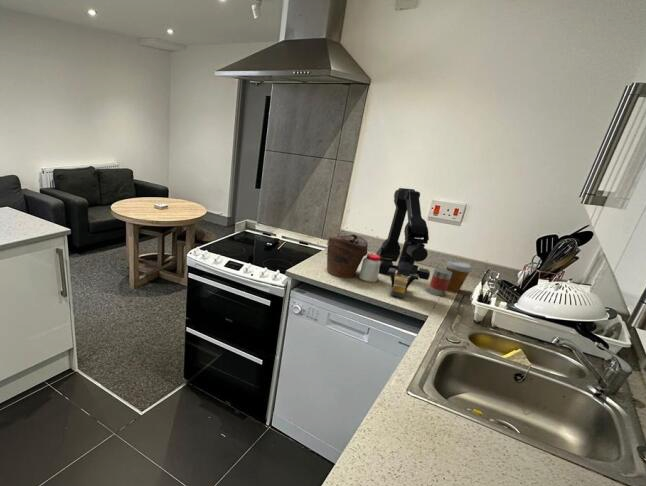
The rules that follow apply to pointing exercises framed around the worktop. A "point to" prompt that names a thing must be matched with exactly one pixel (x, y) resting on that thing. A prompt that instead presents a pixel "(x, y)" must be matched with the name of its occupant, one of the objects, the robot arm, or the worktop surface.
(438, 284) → the tin can
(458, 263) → the disposable coffee cup
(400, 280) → the golden brown bar
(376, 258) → the pill bottle
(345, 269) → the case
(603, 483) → the worktop surface
